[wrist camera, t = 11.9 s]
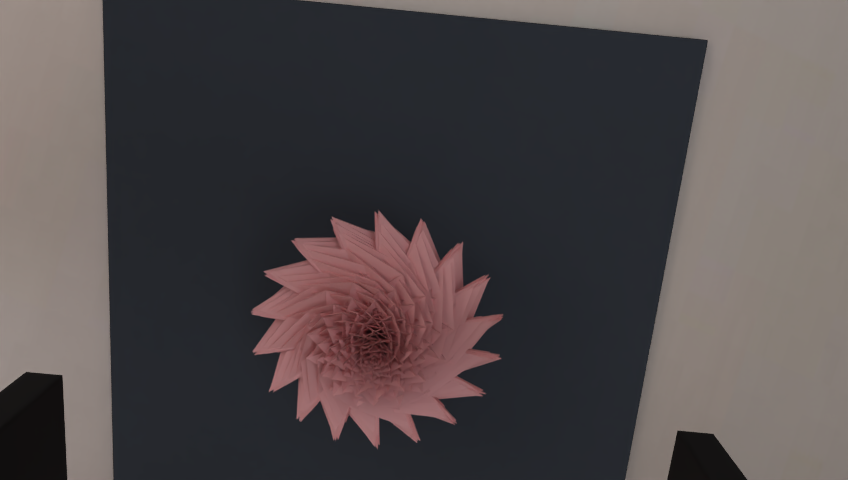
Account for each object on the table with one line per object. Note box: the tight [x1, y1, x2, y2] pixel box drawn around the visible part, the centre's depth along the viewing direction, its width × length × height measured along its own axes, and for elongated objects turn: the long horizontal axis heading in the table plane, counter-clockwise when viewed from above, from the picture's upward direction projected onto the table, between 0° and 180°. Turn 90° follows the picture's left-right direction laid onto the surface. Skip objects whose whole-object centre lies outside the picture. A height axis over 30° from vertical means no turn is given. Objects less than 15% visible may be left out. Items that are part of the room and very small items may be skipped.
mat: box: [103, 0, 708, 480], centre depth 25 cm, size 20×20×1 cm
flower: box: [251, 210, 503, 449], centre depth 22 cm, size 8×8×6 cm
